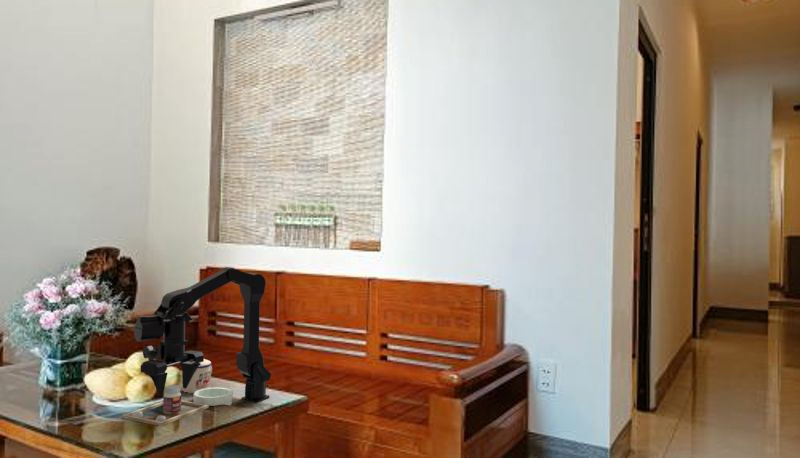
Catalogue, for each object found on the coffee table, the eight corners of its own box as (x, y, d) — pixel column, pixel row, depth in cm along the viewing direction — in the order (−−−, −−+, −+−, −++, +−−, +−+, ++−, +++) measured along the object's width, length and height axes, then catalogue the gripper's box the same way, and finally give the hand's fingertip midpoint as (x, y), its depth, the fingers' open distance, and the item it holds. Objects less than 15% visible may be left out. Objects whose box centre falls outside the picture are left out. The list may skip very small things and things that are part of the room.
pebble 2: (160, 424, 162) (161, 413, 162) (169, 426, 161) (169, 415, 161) (152, 427, 159) (152, 416, 159) (160, 429, 158) (160, 418, 158)
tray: (171, 405, 178) (172, 398, 178) (208, 412, 173) (208, 405, 173) (121, 423, 162) (122, 415, 162) (160, 431, 156) (160, 423, 156)
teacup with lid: (198, 395, 190) (199, 358, 190) (175, 391, 193) (176, 356, 193) (221, 386, 201) (222, 351, 201) (199, 383, 204) (200, 349, 204)
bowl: (211, 397, 187) (211, 385, 187) (239, 402, 183) (239, 390, 183) (185, 407, 177) (186, 394, 177) (214, 412, 173) (215, 399, 173)
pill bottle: (174, 419, 166) (175, 389, 166) (159, 417, 167) (160, 388, 167) (184, 414, 171) (184, 385, 171) (169, 412, 172) (169, 383, 172)
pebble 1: (137, 419, 165) (137, 408, 165) (145, 421, 164) (145, 410, 164) (128, 422, 162) (129, 411, 162) (136, 424, 161) (137, 413, 161)
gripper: (177, 329, 181) (175, 381, 181) (126, 339, 164) (125, 396, 164) (205, 333, 176) (204, 385, 176) (156, 344, 159) (155, 402, 159)
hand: (172, 392), depth 169 cm, fingers open, 9 cm apart
